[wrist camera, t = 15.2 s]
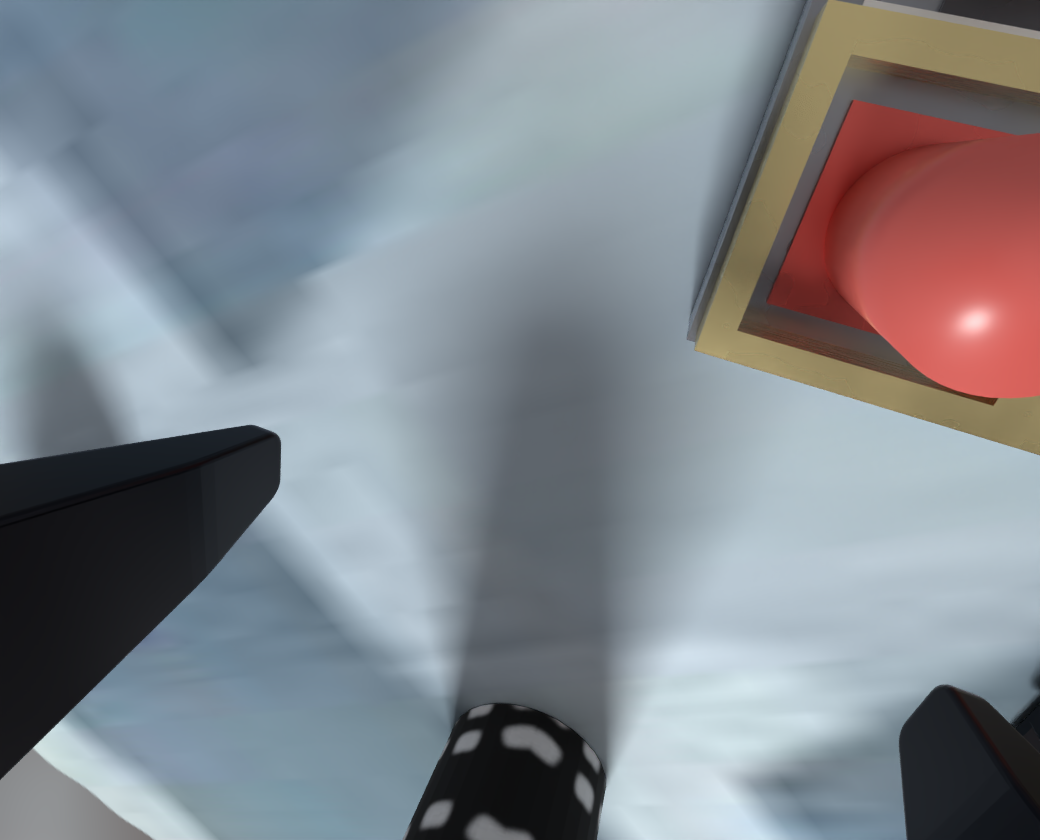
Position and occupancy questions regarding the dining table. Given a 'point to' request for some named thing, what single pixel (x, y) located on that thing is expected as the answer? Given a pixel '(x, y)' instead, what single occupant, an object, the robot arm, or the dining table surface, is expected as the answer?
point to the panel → (838, 165)
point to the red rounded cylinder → (949, 261)
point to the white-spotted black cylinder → (511, 781)
